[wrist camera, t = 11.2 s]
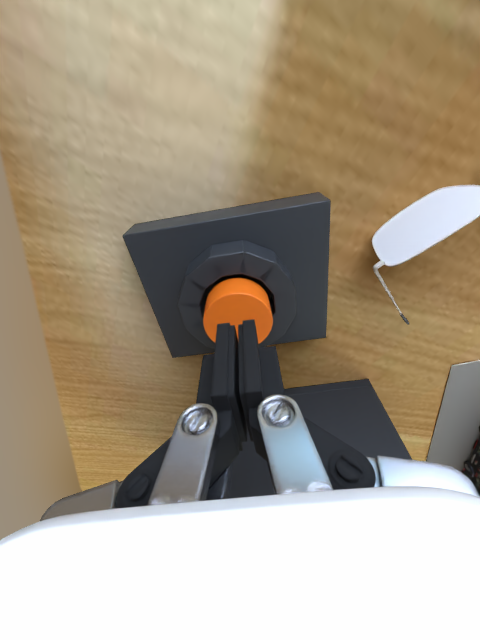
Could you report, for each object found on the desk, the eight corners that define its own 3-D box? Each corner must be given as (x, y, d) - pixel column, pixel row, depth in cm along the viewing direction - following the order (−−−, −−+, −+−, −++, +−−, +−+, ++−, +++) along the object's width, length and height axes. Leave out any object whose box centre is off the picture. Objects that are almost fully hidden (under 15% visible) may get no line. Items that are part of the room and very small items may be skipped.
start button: (213, 334, 16) (211, 354, 15) (199, 282, 14) (195, 299, 13) (272, 326, 16) (275, 345, 15) (265, 272, 14) (269, 288, 13)
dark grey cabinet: (233, 464, 32) (232, 570, 25) (210, 397, 25) (199, 517, 17) (355, 452, 31) (396, 559, 24) (368, 378, 24) (433, 497, 16)
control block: (177, 339, 21) (167, 376, 18) (134, 223, 16) (109, 247, 13) (318, 319, 20) (334, 355, 17) (319, 191, 15) (342, 207, 12)
